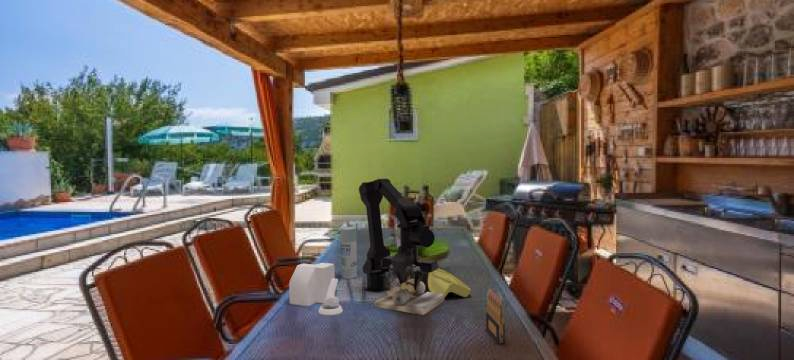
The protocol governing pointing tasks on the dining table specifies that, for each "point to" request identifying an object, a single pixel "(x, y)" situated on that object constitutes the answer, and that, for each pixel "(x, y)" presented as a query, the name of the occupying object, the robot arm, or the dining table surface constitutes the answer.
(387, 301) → the hinge base
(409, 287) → the brass cylinder with flap
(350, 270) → the spray paint can
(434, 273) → the plastic component
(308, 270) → the white rounded block
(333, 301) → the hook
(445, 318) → the dining table surface
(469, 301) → the dining table surface
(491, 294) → the ammunition clip
